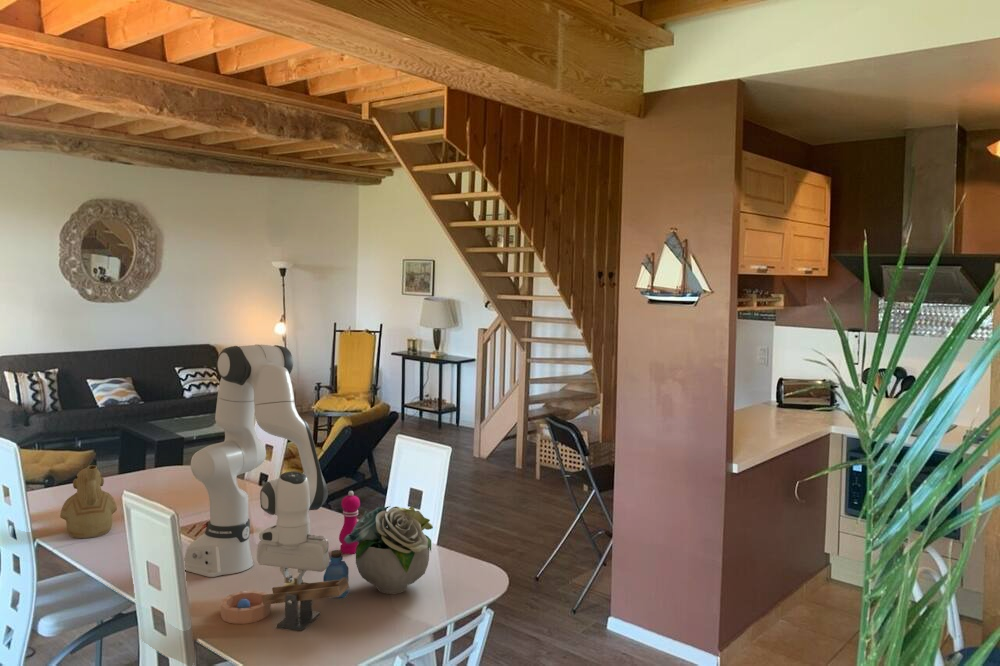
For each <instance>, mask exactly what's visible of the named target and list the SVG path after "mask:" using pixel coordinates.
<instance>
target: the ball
mask: <svg viewBox="0 0 1000 666" xmlns="http://www.w3.org/2000/svg"><path fill="white" fill-rule="evenodd" d="M249 607H250V602H249V601H248V600H247V599H241V600H240V601H239V602H238V604H237V608H239V609H241V608H249Z"/></svg>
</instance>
